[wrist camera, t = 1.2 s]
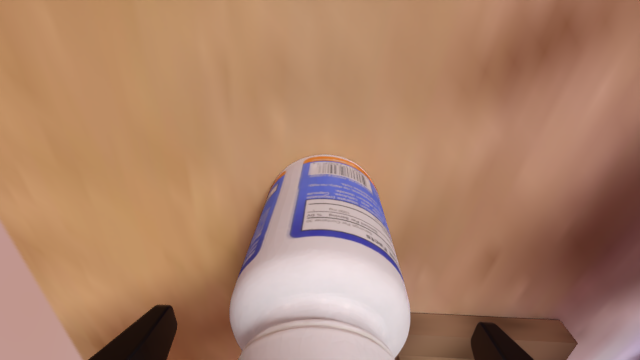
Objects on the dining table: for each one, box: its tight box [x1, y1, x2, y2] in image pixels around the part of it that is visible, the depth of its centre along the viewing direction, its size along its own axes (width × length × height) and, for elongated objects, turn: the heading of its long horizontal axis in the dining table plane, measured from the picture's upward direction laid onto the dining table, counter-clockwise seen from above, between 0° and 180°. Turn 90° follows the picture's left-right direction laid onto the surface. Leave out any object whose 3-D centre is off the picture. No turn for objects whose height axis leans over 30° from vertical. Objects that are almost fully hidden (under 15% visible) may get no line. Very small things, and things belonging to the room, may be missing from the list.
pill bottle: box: [229, 155, 410, 360], centre depth 11 cm, size 5×5×10 cm
